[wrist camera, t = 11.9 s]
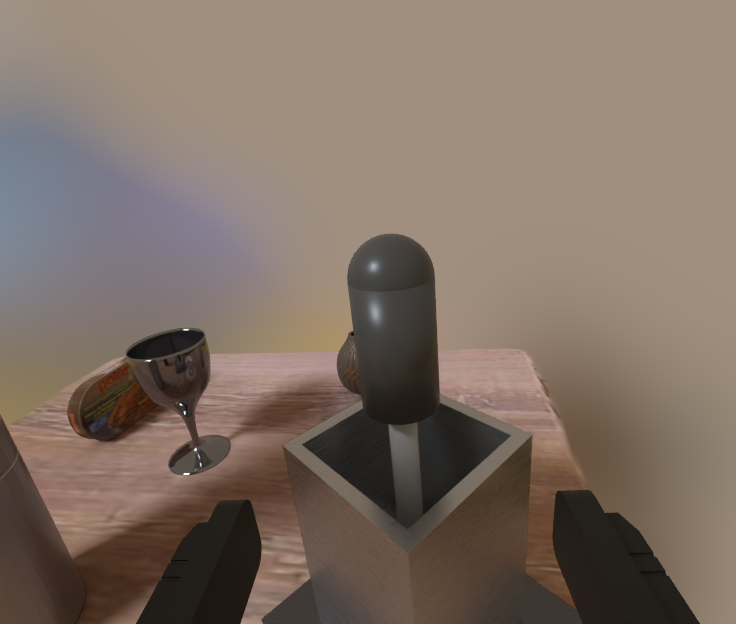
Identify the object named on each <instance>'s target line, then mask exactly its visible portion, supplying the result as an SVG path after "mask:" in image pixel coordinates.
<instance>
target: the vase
mask: <svg viewBox="0 0 736 624" xmlns="http://www.w3.org/2000/svg"><path fill="white" fill-rule="evenodd" d="M337 371H338V376H339V378H340V380H341V382H342V384H343V385H344V387H346V388H347V389H348V390H349V391H351V392H353V393H356V394H361V389H360V380H359V372H358V364H357V356H356V347H355V339H354V331H351V332H350V333H349V334H348V337H347V340H346V342H345V343H344V344H343V346H342V348H341V349H340V351H339V354H338V358H337Z"/></svg>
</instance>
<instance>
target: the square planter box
mask: <svg viewBox="0 0 736 624" xmlns="http://www.w3.org/2000/svg"><path fill="white" fill-rule="evenodd" d="M417 428H418V443H419V458H420V473H421V488H422V503H423V516H422V517H421V518H420V519H419V520H418V521H416V522H415V523H414V524H413V525H412V526H411V527H410V528H409V529H408V530H407V529H406V528H405V527H403V526H402V525H401V524H400V523H398V518H397V508H396V497H395V487H394V477H393V467H392V456H391V446H390V436H389V425H388V424H385V423H381V422H378V421H376V420H374V419H372V418H370V417H369V416H368V415H367V414H366V413H365V411H364V409H363V405H362V400H361V401H359V402H357V403H355V404H354V405H352V406H350V407H349V408H347V409H345V410H343V411H342V412H340V413H338V414H336V415H335V416H333V417H331V418H329V419H328V420H326V421H324V422H322V423H321V424H319V425H317V426H315V427H314V428H312V429H310V430H308V431H307V432H305V433H303V434H301V435H300V436H298V437H296V438H294V439H293V440H291V441H289V442H287V443H286V444H284V445H283V450H284V454H285V459H286V464H287V469H288V473H289V478H290V483H291V487H292V492H293V497H294V502H295V506H296V511H297V516H298V521H299V525H300V530H301V535H302V540H303V544H304V549H305V554H306V559H307V563H308V568H309V573H310V577H311V578H310V579H309V580H308V581H307V582H306V583H304V584H303V585H302V586H301V587H300V588H298V589H297V590H296V591H295V592H294V593H292V594H291V595H290V596H289V597H288V598H286V599H285V600H284V601H283V602H282V603H280V604H279V605H278V606H277V607H276V608H274V609H273V610H272V611H271V612H270V613H268V614H267V615H266V616H265V617H264V618H263V619H262V622H263V624H583V623H582V621H581V619H580V616H579V614H578V611H577V610H575V609H574V608H573V607H571V606H570V605H568V604H567V603H566V602H564V601H563V600H561V599H560V598H559V597H557V596H556V595H554V594H553V593H552V592H550V591H549V590H547V589H546V588H544V587H543V586H542V585H540V584H539V583H537V582H536V581H535V580H533V579H532V578H530V577H529V576H528V575H526V574H525V567H526V548H527V529H528V510H529V491H530V472H531V453H532V434H530V433H528V432H525V431H523V430H521V429H519V428H516V427H514V426H512V425H510V424H507V423H505V422H503V421H501V420H498V419H496V418H494V417H491V416H489V415H487V414H485V413H482V412H480V411H478V410H476V409H473V408H471V407H469V406H467V405H464V404H462V403H460V402H457V401H455V400H453V399H451V398H448V397H446V396H444V395H442V394H440V405H439V407H438V409H437V411H436V412H435V413H434V414H433V415H431V416H430V417H428V418H427V419H425V420H422V421H420V422H417Z"/></svg>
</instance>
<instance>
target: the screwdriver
mask: <svg viewBox="0 0 736 624" xmlns="http://www.w3.org/2000/svg"><path fill="white" fill-rule="evenodd" d="M347 279H348V290H349V298H350V306H351V314H352V323H353V331H354V339H355V347H356V356H357V364H358V372H359V380H360V389H361V397H362V405H363V409H364V411H365V413H366V414H367V415H368V416H369V417H370V418H372V419H374V420H376V421H378V422H381V423H385V424H388V425H389V436H390V446H391V456H392V467H393V477H394V487H395V497H396V508H397V518H398V523H400V524H401V525H402V526H403V527H405V528H406V529H407V530H408V529H409V528H410V527H411V526H412V525H413V524H414V523H415V522H416V521H418V520H419V519H420V518H421V517H422V516H423V503H422V488H421V473H420V458H419V443H418V428H417V422H420V421H422V420H425V419H427V418H428V417H430V416H431V415H433V414H434V413H435V412H436V411H437V409H438V407H439V405H440V391H439V367H438V344H437V323H436V299H435V276H434V269H433V264H432V261H431V259H430V257H429V255H428V253H427V252H426V251H425V249H424V248H423V247H422V246H421V245H420V244H418V243H417V242H416V241H414V240H413V239H411V238H409V237H406V236H404V235H399V234H384V235H379V236H376V237H373V238H371V239H370V240H368V241H366V242H365V243H364V244H363V245H361V246H360V248H358V250H357V251H356V252H355V254H354V255H353V257H352V259H351V262H350V264H349V268H348V276H347Z"/></svg>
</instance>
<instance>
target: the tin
mask: <svg viewBox="0 0 736 624" xmlns="http://www.w3.org/2000/svg"><path fill="white" fill-rule="evenodd" d="M157 405H158V404H156V403H155V402H153V401H151V400H150V399H149V398H148V397H147V396H146V395H145V393H144V392H143V391H142V389H141V388H140V386H139V385H138V383H137V381H136V379H135V377H134V375H133V373H132V371H131V368H130V366H129V363H128V360H127V357H126V358H124V359H122V360H121V361H119V362H117V363H116V364H114V365H112V366H111V367H109V368H107V369H106V370H104V371H102V372H101V373H99V374H97V375H96V376H94V377H92V378H91V379H89V380H87V381H85V382H84V383H82V384H81V385H80V386H79V387H78V388H77V389H76V390H75V392H74V393H73V395H72V397H71V399H70V401H69V404H68V410H67V414H68V418H69V422H70V424H71V426H72V428H73V430H74V431H75V432H76V433H77V434H78V435H80V436H82V437H84V438H88V439H96V440H102V441H103V440H110V439H113V438H116V437H117V436H119V435H121V434H122V433H123V432H124V431H126V430H127V429H128V428H129V427H131V426H132V425H133V424H134V423H135V422H137V421H138V420H139V419H141V418H142V417H143V416H144V415H146V414H147V413H148V412H149V411H151V410H152V409H153V408H155V407H156V406H157Z"/></svg>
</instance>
